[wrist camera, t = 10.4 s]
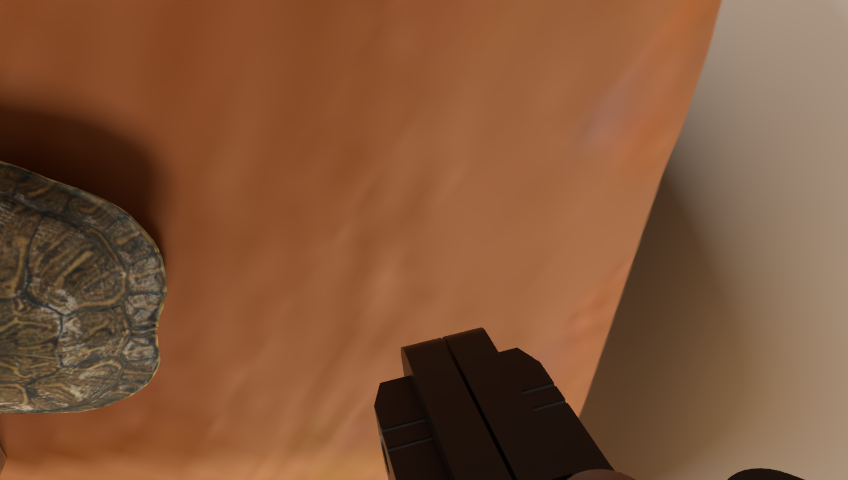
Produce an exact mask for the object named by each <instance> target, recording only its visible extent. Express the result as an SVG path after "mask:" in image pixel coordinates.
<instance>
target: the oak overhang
mask: <svg viewBox="0 0 848 480" xmlns="http://www.w3.org/2000/svg"><path fill="white" fill-rule="evenodd" d="M6 459H7V458H6V456H5V454H4V452H3V451H2V449H1V447H0V474H1V472H2V469H3V467H4V464H5V462H6Z"/></svg>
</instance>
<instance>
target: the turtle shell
mask: <svg viewBox="0 0 848 480" xmlns="http://www.w3.org/2000/svg"><path fill="white" fill-rule="evenodd" d="M166 294H167V288H166V272H165V265H164V262H163V259H162V256H161V254H160V252H159V250H158V248H157V246H156V244H155V242H154V240H153V239H152V238H151V237H150V236H149V234H148V233H147V232H146V231H145V230H144V229H143V228H142V227H141V226H140V225H139V224H138V223H137V222H136V220H135V219H134V218H133V217H132V216H131V215H130V214H128V213H127V212H125V211H124V210H123V209H121V208H120V207H118V206H116V205H114V204H113V203H111V202H109V201H107V200H105V199H103V198H101V197H99V196H97V195H94V194H92V193H89V192H86V191H84V190H81V189H79V188H76V187H73V186H70V185H67V184H64V183H60V182H57V181H54V180H51V179H48V178H46V177H44V176H42V175H40V174H38V173H35V172H33V171H30V170H27V169H25V168H22V167H19V166H16V165H13V164H10V163H6V162H3V161H0V413H2V414H4V413H7V414H47V413H66V412H82V411H87V410H92V409H97V408H102V407H105V406H108V405H111V404H112V403H113V402H115V401H118V400H121V399H125V398H128V397H129V396H131V395H133V394H134V393H136V392H138V391H139V390H141V389H143V388H144V387H145V386H146V385H147V384H148V383H149V382H150V381H151V379H152V378H153V376H154V375H155V373H156V371H157V369H158V367H159V364H160V349H159V345H158V336H157V334H156V333H155V330H156V329H157V327H158V326H159V317H160V314H161V311H162V309H163V307H164V301H165V297H166Z"/></svg>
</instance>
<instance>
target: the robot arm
mask: <svg viewBox="0 0 848 480" xmlns="http://www.w3.org/2000/svg"><path fill="white" fill-rule="evenodd" d="M401 357H402V364H403V370H404V377H402V378H398V379H394V380H390V381H386V382H382V383H380V385H379V389H378V393H377V397H376V401H375V405H374V408H375V413H376V419H377V424H378V430H379V435H380V441H381V446H382V451H383V457H384V462H385V468H386V472H387V475H388V479H389V480H635V479H634V478H632V477H630V476H628V475H625V474H623V473H620V472H616V471H615V470H614V469H613V468H612V467H611V465H610V464H609V463H608V461H607V460H606V458H605V457H604V455H603V454H602V452H601V451H600V450H599V448H598V446H597V445H596V444H595V442H594V441H593V439H592V438H591V436H590V435H589V433H588V432H587V430H586V429H585V427H584V426H583V425H582V423H581V422H580V420H579V419H578V417H577V416H576V414H575V413H574V411H573V410H572V408H571V407H570V405H569V404H568V403H566V402H565V398H564V397H563V395H562V394H561V392H560V391H559V389H558V388H557V386H554V382H553V381H552V379H551V378H550V376H549V375H548V373H547V372H546V370H545V369H544V367H543V366H542V365H541V363H540V362H539V361H537V360H536V359H534V358H533V357H531V356H529V355H528V354H526V353H525V352H523V351H522V350H520V349H519V348H514V349H510V350H506V351H502V352H498V351H497V349H496V347H495V346H494V344H493V342H492V341H491V339H490V338H489V336H488V334H487V333H486V331H485V330H484V329H483V328H477V329H473V330H469V331H465V332H461V333H457V334H453V335H449V336H445V337H443V338H442V339H441V338H437V339H433V340H429V341H425V342H421V343H417V344H413V345H409V346H405V347H401ZM728 480H804V479H801V478H799V477H796V476H793V475H790V474H788V473H784V472H781V471H777V470H772V469H763V468H757V469H749V470H743V471H741V472H738V473H736V474H734V475H733V476H731V477H730V478H729V479H728Z"/></svg>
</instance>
